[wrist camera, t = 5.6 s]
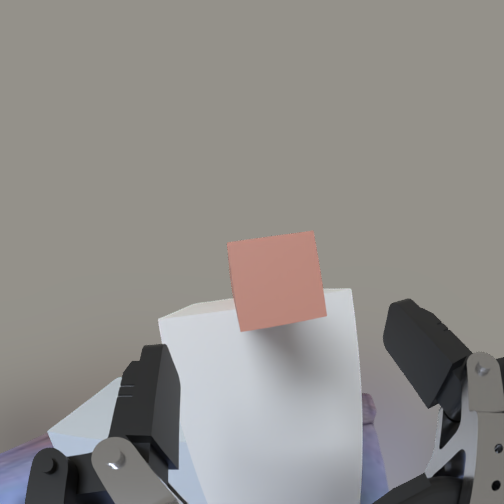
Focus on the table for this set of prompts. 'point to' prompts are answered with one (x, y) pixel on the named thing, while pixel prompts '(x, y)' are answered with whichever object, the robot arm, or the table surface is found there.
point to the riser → (254, 407)
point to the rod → (276, 280)
